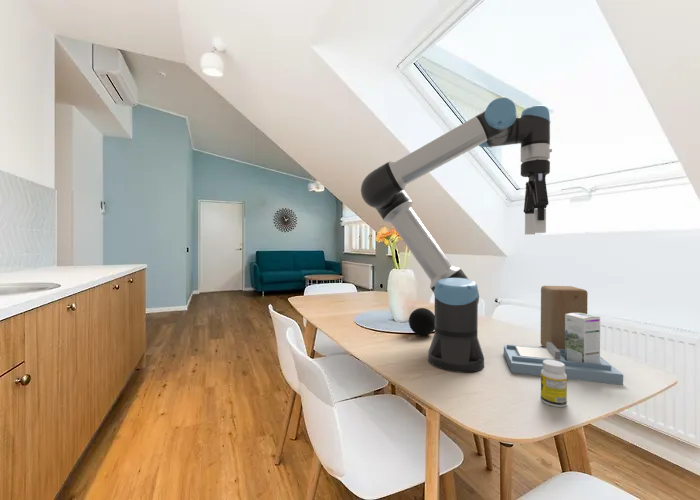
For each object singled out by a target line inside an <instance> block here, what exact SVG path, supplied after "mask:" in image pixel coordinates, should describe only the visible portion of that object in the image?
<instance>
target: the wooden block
mask: <svg viewBox="0 0 700 500" xmlns="http://www.w3.org/2000/svg"><path fill="white" fill-rule="evenodd" d="M568 313H583V314H588V291H587V290H586V289H583V288H579V287H575V286H572V285H543V286H542V285H541V287H540V345H541V346H542V348H546V344H547V342H552V344H553V345H554V346H555V347H556V348H557V349H565V314H568Z"/></svg>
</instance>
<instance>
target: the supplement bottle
mask: <svg viewBox="0 0 700 500" xmlns="http://www.w3.org/2000/svg"><path fill="white" fill-rule="evenodd" d="M564 372H565V364H564V363H562V362H559V361H555V360H544V361H543V369H542V370H541V376H540V399H541V401H542V403H544V404H546V405H548V406H551V407H555V408H563V407H566V406H567V405H568V393H567V392H568V379H567V375H566V374H565V373H564Z"/></svg>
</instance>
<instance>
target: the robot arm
mask: <svg viewBox="0 0 700 500" xmlns="http://www.w3.org/2000/svg"><path fill="white" fill-rule="evenodd" d="M517 110H518V109H517V106H516V103H515V102H514V101H513V100H512V99H511V98H508V97H498V98H494V99H493V100H492V101H491V102H489V104H488V105H487V106H486V109H485V110H484V111H482V112H481V113H479V114H477V115H475V116H474V117H472V118H471V119H468V120H466V121H465V122H464V123H463V122H462V123H461V124H460V125H458V126H456V127H454V128H453V129H450V130H449V131H447V132H445V133H444V134H442V135H440V136H439V137H437V138H435V139H434V140H431V141H430V142H428V143H426V144H424V145H423V146H421V147H419V148H418V149H416V150H414V151H412V152H410V153H409V154H407V155H404V156H403V157H401V158H399V159H398V160H396V161H391V160H389V161H387V162H386V163H384V164H383V165H381V166H379V167H377V168H375V169H373V170H372V171H371V172H370V173H368V174H367V175H366V176H365V178H364V179H363V181H362V182H361V183H362V184H361V187H360V194H361V198H362V199H363V201H364V202H365V203H366V205H368V206H370V207H371V208H373V209H375V211H377V212H378V214H379V215H380V217H381V219H382V220H383V221H384V222H385V223H389V224H391V225H392V227H393V229H395V231H396V232H397V234H398V235H399V237H400V238H401V239H402V241H403V243H404V244H405V245H406V247H407V248H408V249H409V251H410V252H411V254H412V255H413V257H414V258H415V260H416V261H417V263H418V264H419V266H420V267H421V268H422V269H423V271H424V273H425V274H426V275H427V277H428V278H429V280H430V285H429V288H430V289H431V291H432V292H433V295H434V315H435V329H434V334H433V337H432V340H431V343H430V346H429V349H428V352H427V354H428V355H427V360H428V362H429V364H431V365H432V366H434V367H437V369H438V368H439V369H441V370H445V371H449V372H458V373H471V372H477V371H480V370H482V369H483V368H484V367H485V356H484V353H483V350H482V347H481V344H480V341H479V338H478V336H479V335H478V325H479V323H478V321H479V320H478V319H479V318H478V314H479V313H478V309H479V306H478V305H479V300H480V294H479V289H478V287H479V286H478V284H477V282H476V281H474V280H472V279H469V277H468V276H467V274H465V272H464V271H463V270H462V268H461V267H457V266H454V265H453V264H452V263H451V261H450V260H449V258H448V257H447V256H446V254H445V253H444V251H443V250H442V249H441V248H440V246H439V244H438V243H437V242H436V240H435V239H434V237H433V236H432V235H431V233H430V231H429V230H428V229H427V228H426V226H425V225H424V224H423V222H422V221H421V219H420V218H419V217H418V215H417V214H416V211H414V210H413V209H414V208H413V207H412V206H413V200H412V199H411V197H410V196H409V195H408V193H407V190H406V186H407V185H408V184H410V183H411V182H414V181H415V180H417V179H419V178H421V177H423V176H425V175H427V174H428V173H430V172H432V171H434V170H436V169H438V168H439V167H441V166H443V165H444V164H447V163H449V162H451V161H453V160H454V159H456V158H458V157H460V156H461V155H464V154H465V153H467V152H469V151H471V150H473V149H475V148H476V147H480V148H493V147H500V146H501V147H502V146H508V145H519V144H520V176H521V177H523V178H528V180H527V181H526V182H525V194H524V205H523V213H524V235H535V234H538V233H539V234H540V233H542V234H545V233H546V232H547V207H548V205H549V198H548V197H549V196H548V190H547V183H546V181H547V180H546V176H547V175H549V174H550V172H551V166H550V165H551V162H550V158H551V157H550V156H551V155H550V154H551V153H552V152H553V149H551V148H550V147H551V113H550V112H551V111H550V108H549V107H547V106H546V105H533V106H531V107H526V108H525V109H524V110H522V111H521V114H520V116H519V117H518V116H517V115H518V113H517Z"/></svg>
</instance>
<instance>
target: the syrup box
mask: <svg viewBox="0 0 700 500" xmlns="http://www.w3.org/2000/svg"><path fill="white" fill-rule="evenodd" d="M600 357H601V316H597V315H592V314H588V313H587V314H583V313H568V314H565V360H566V361H574V362H585V363H595V364H600Z"/></svg>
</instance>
